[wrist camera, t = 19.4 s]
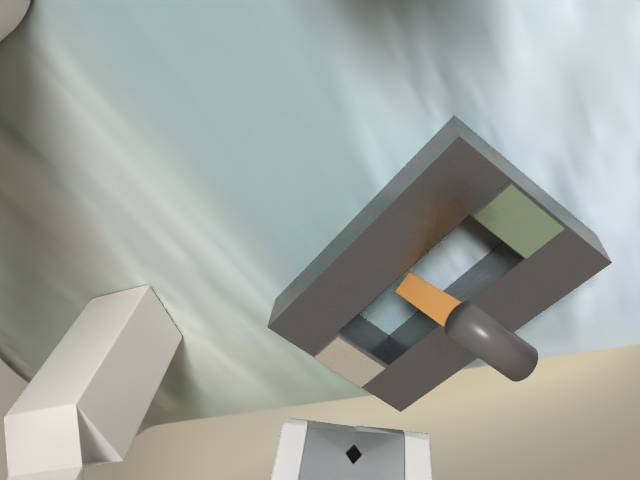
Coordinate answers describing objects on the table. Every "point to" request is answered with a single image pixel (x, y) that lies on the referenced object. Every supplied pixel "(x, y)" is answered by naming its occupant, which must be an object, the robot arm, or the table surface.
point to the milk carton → (92, 389)
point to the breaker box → (415, 241)
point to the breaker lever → (472, 328)
